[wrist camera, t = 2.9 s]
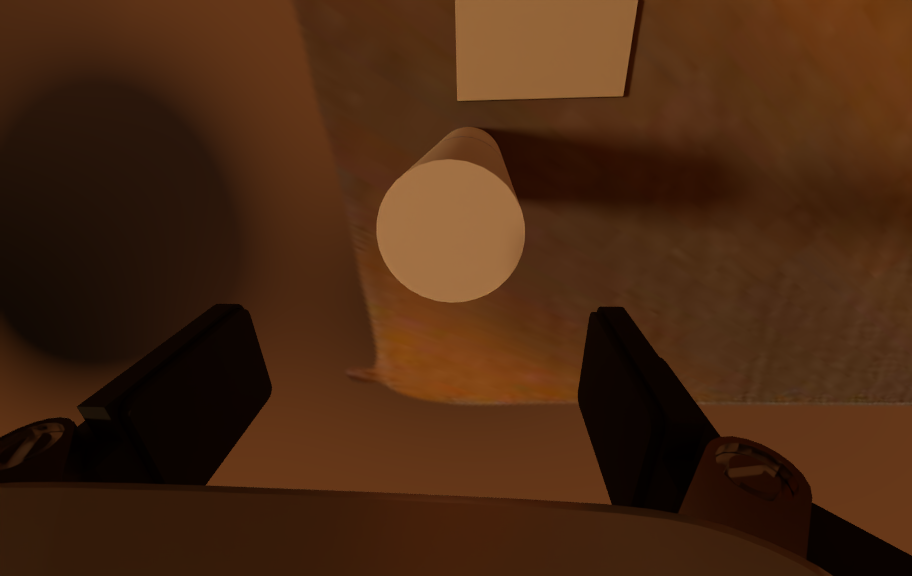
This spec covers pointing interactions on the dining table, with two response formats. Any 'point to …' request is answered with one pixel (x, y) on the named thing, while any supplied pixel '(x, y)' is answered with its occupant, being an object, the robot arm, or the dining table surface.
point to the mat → (542, 48)
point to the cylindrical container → (453, 220)
